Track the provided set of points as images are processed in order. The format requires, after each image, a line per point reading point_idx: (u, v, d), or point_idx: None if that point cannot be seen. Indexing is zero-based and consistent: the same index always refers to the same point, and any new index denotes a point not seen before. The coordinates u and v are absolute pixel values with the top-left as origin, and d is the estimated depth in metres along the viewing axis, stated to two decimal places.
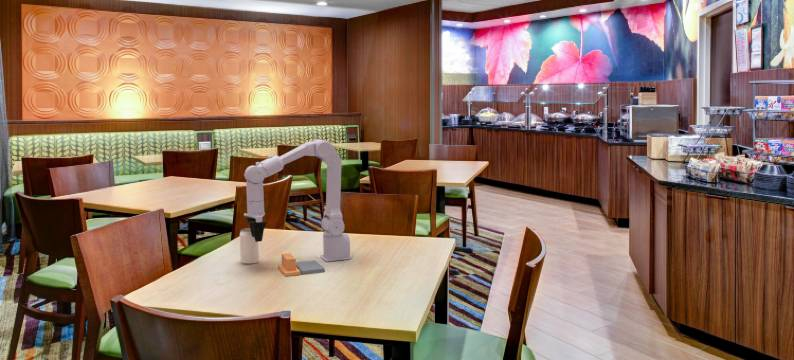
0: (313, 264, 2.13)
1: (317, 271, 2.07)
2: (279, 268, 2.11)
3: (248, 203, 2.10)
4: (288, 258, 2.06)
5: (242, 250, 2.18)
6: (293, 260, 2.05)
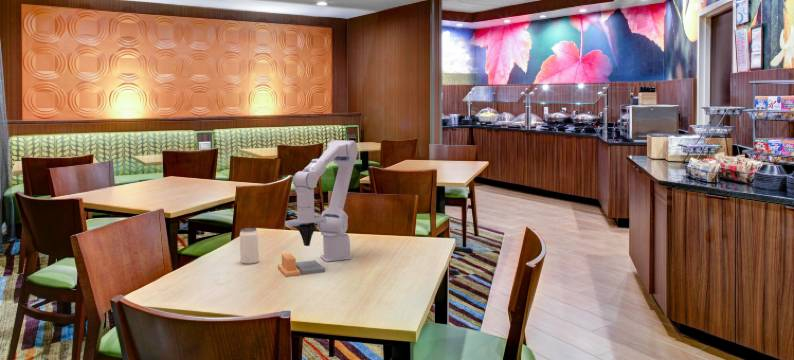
0: (313, 264, 2.13)
1: (317, 271, 2.07)
2: (279, 268, 2.11)
3: None
4: (288, 258, 2.06)
5: (242, 250, 2.18)
6: (293, 260, 2.05)
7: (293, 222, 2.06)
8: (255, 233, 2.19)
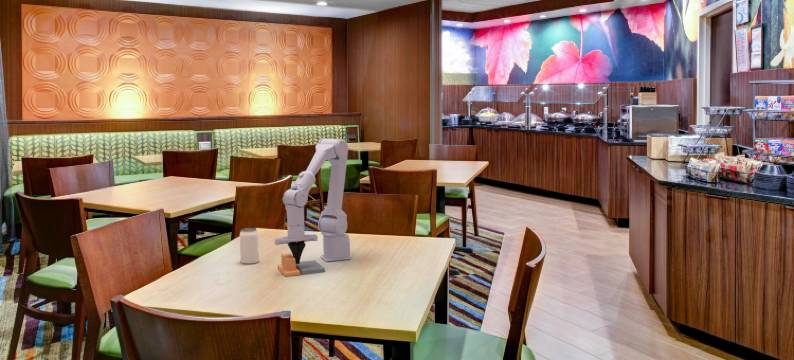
0: (313, 264, 2.13)
1: (317, 271, 2.07)
2: (279, 268, 2.11)
3: None
4: (288, 258, 2.06)
5: (242, 250, 2.18)
6: (293, 260, 2.05)
7: (282, 240, 2.05)
8: (255, 233, 2.19)
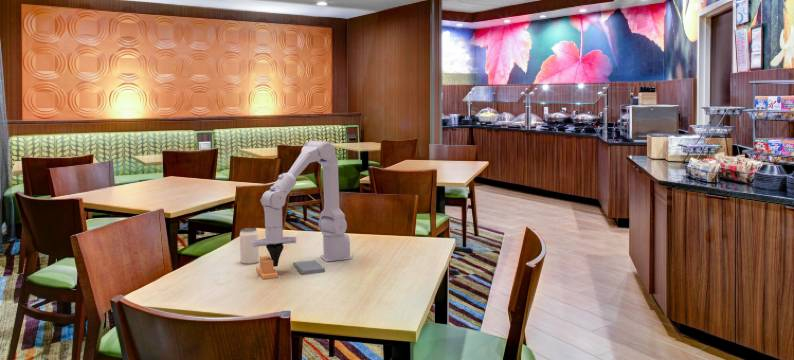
0: (313, 264, 2.13)
1: (317, 271, 2.07)
2: (257, 271, 2.08)
3: None
4: (266, 260, 2.03)
5: (242, 250, 2.18)
6: (271, 262, 2.02)
7: (259, 242, 2.03)
8: (255, 233, 2.19)
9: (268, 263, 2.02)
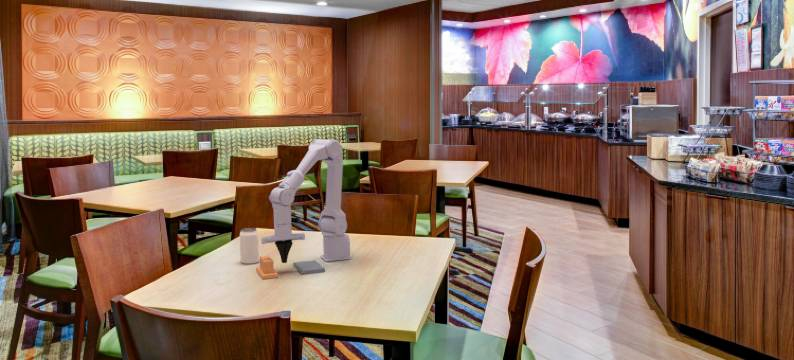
0: (313, 264, 2.13)
1: (317, 271, 2.07)
2: (257, 271, 2.08)
3: None
4: (266, 260, 2.03)
5: (242, 250, 2.18)
6: (271, 262, 2.02)
7: (268, 239, 2.04)
8: (255, 233, 2.19)
9: (268, 263, 2.02)
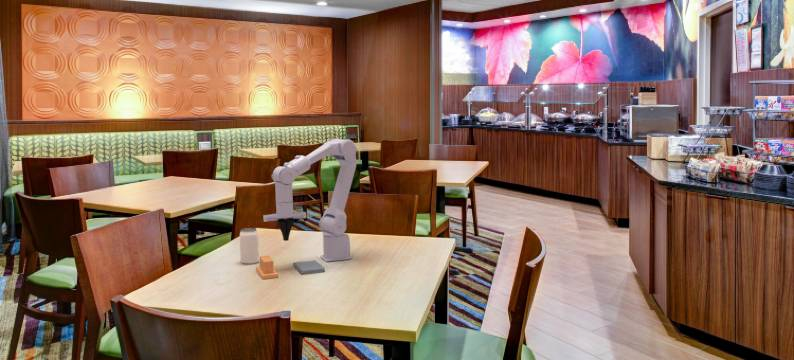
0: (313, 264, 2.13)
1: (317, 271, 2.07)
2: (257, 271, 2.08)
3: None
4: (266, 260, 2.03)
5: (242, 250, 2.18)
6: (271, 262, 2.02)
7: (270, 217, 2.08)
8: (255, 233, 2.19)
9: (268, 263, 2.02)
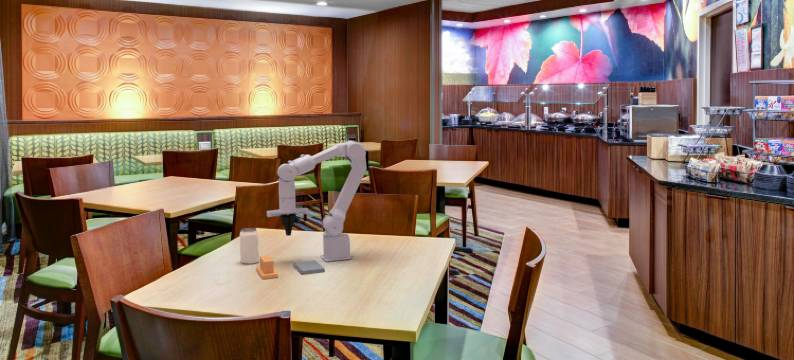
0: (313, 264, 2.13)
1: (317, 271, 2.07)
2: (257, 271, 2.08)
3: None
4: (266, 260, 2.03)
5: (242, 250, 2.18)
6: (271, 262, 2.02)
7: (274, 212, 2.16)
8: (255, 233, 2.19)
9: (268, 263, 2.02)
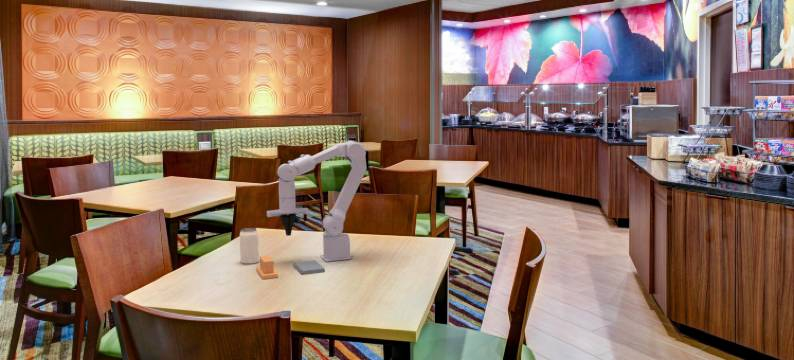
0: (313, 264, 2.13)
1: (317, 271, 2.07)
2: (257, 271, 2.08)
3: None
4: (266, 260, 2.03)
5: (242, 250, 2.18)
6: (271, 262, 2.02)
7: (274, 212, 2.16)
8: (255, 233, 2.19)
9: (268, 263, 2.02)
